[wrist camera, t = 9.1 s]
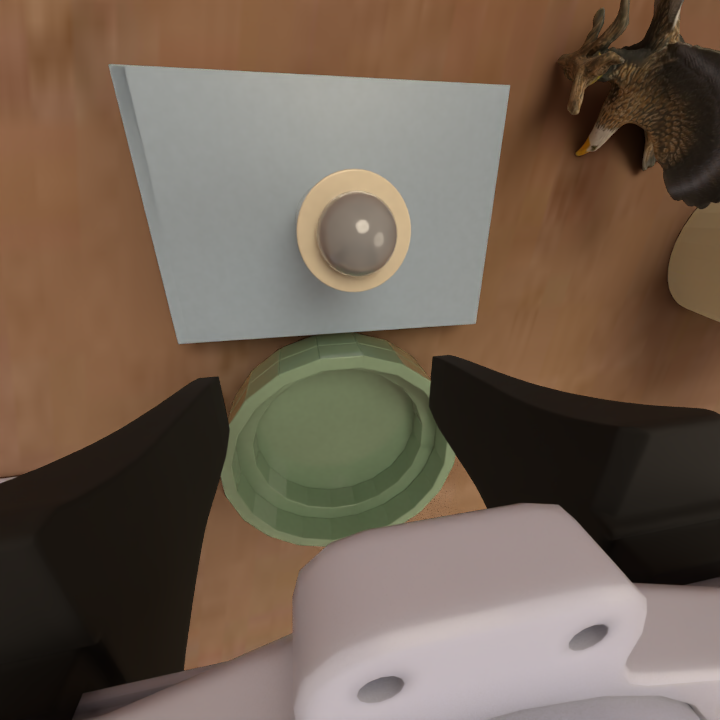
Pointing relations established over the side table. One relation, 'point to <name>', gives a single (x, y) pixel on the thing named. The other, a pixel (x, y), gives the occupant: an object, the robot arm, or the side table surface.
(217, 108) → the book
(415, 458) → the bowl
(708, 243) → the reusable coffee cup
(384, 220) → the shaker
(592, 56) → the eagle figurine
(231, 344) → the side table surface
